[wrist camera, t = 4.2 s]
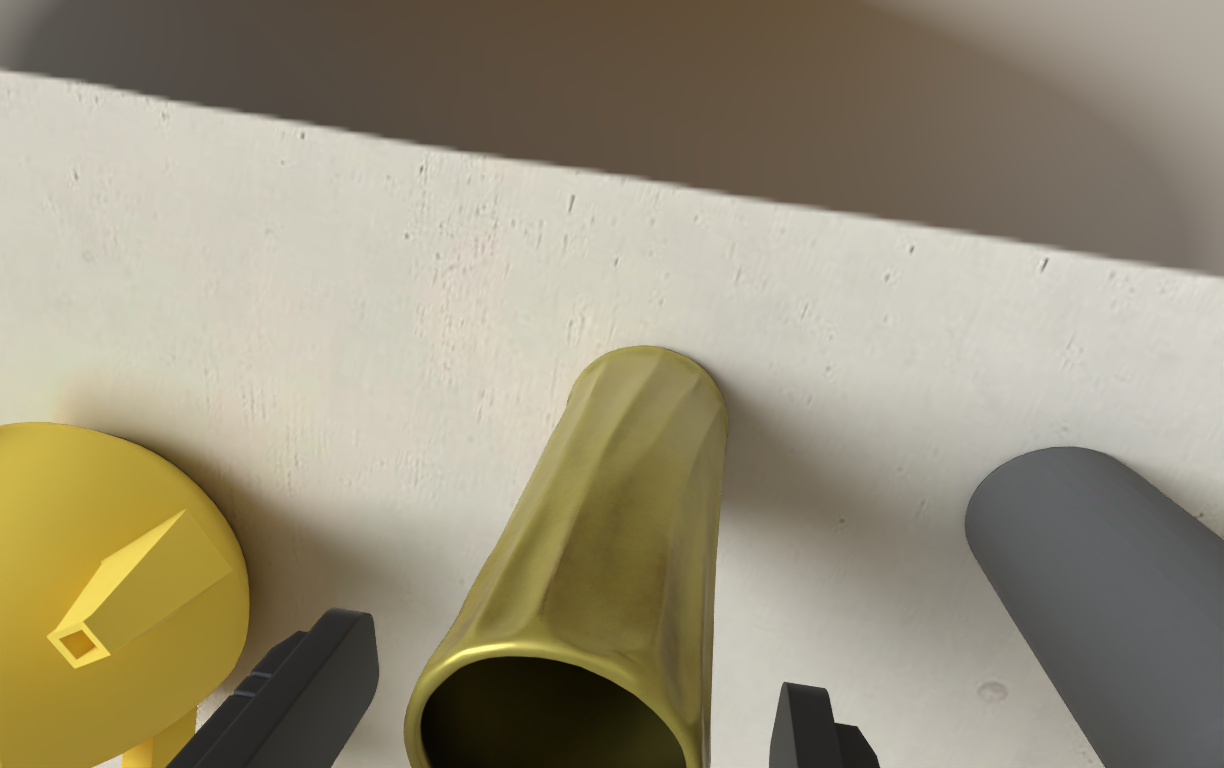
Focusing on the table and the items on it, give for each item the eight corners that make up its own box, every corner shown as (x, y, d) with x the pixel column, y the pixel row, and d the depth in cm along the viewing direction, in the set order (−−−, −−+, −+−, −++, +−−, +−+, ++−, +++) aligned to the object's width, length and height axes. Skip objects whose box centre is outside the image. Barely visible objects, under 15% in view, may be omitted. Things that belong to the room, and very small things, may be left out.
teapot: (-25, 330, 27) (-535, 453, 16) (317, 483, 27) (37, 712, 16) (-14, 599, 34) (-372, 817, 23) (262, 723, 34) (35, 1005, 23)
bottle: (1175, 458, 21) (2102, 1087, 7) (1107, 598, 23) (1706, 1291, 9) (990, 432, 21) (1488, 949, 7) (942, 569, 23) (1260, 1170, 10)
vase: (730, 491, 24) (741, 910, 11) (577, 491, 25) (415, 870, 12) (724, 339, 22) (729, 628, 9) (557, 347, 23) (337, 612, 10)
